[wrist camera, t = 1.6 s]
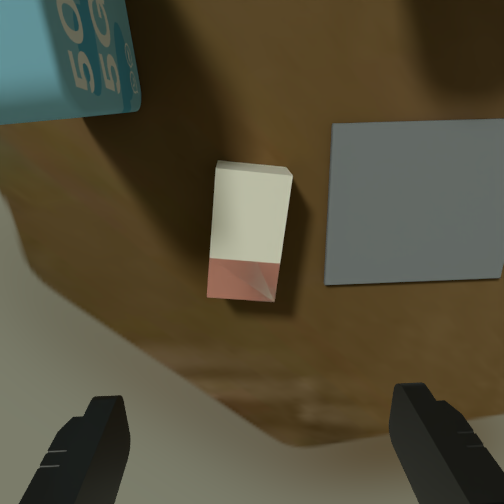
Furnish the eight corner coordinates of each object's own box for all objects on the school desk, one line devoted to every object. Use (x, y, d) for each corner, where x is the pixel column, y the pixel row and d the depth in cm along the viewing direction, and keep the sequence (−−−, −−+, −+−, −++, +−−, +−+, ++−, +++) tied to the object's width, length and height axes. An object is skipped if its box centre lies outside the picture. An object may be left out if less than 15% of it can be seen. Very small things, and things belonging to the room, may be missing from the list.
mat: (332, 123, 25) (333, 123, 25) (534, 117, 26) (539, 117, 25) (323, 282, 30) (325, 285, 30) (496, 275, 30) (500, 277, 30)
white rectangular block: (217, 159, 26) (215, 168, 23) (285, 166, 27) (292, 175, 23) (209, 275, 30) (206, 297, 26) (270, 280, 30) (274, 302, 27)
